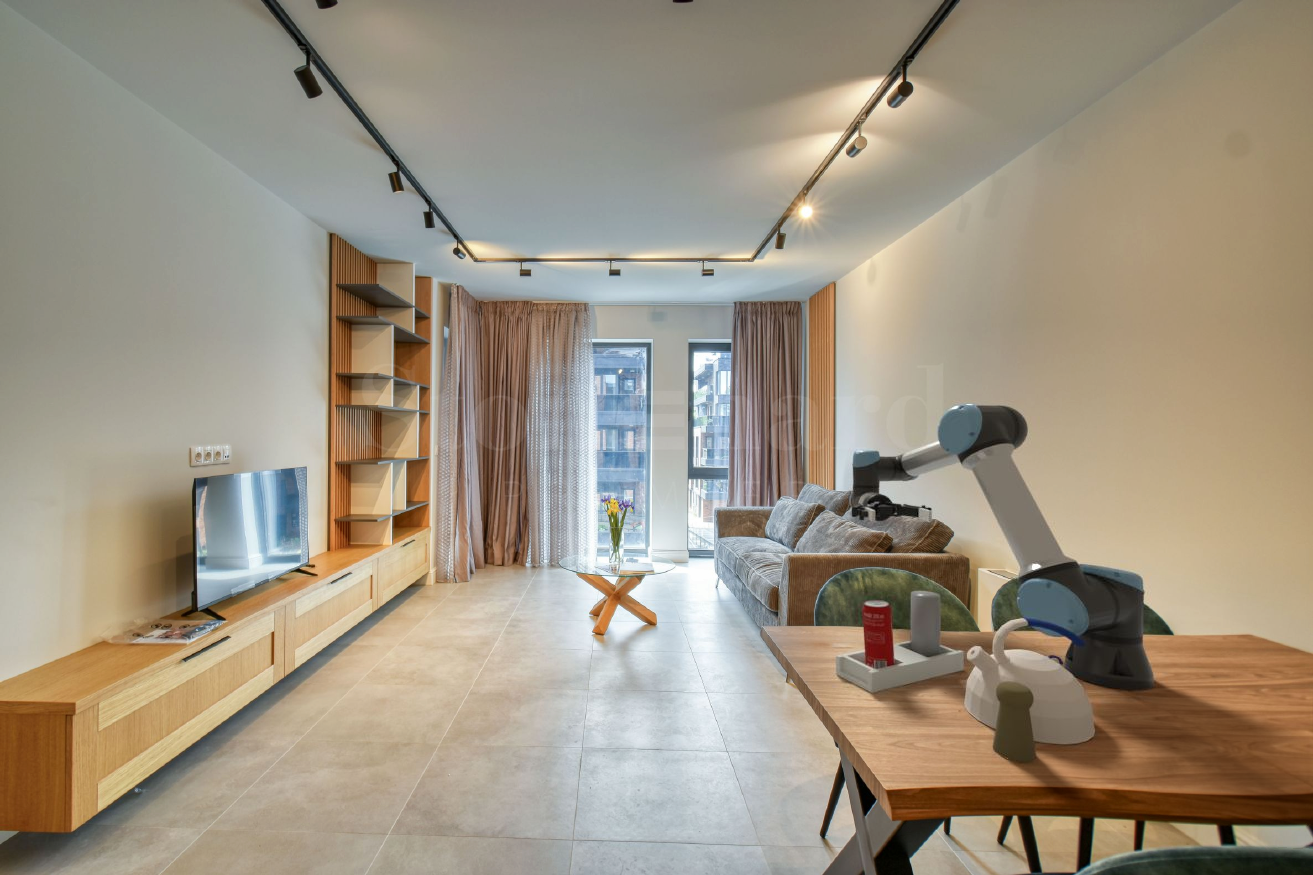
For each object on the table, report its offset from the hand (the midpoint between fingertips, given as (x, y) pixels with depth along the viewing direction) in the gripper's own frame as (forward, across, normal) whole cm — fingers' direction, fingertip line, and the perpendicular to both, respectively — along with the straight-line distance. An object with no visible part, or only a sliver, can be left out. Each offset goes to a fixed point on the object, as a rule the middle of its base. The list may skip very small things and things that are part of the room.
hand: (901, 516), depth 145 cm
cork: (+50, -1, -32) cm, 59 cm away
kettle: (+37, -10, -32) cm, 50 cm away
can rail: (+18, +6, -31) cm, 37 cm away
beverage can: (+22, +12, -31) cm, 40 cm away
